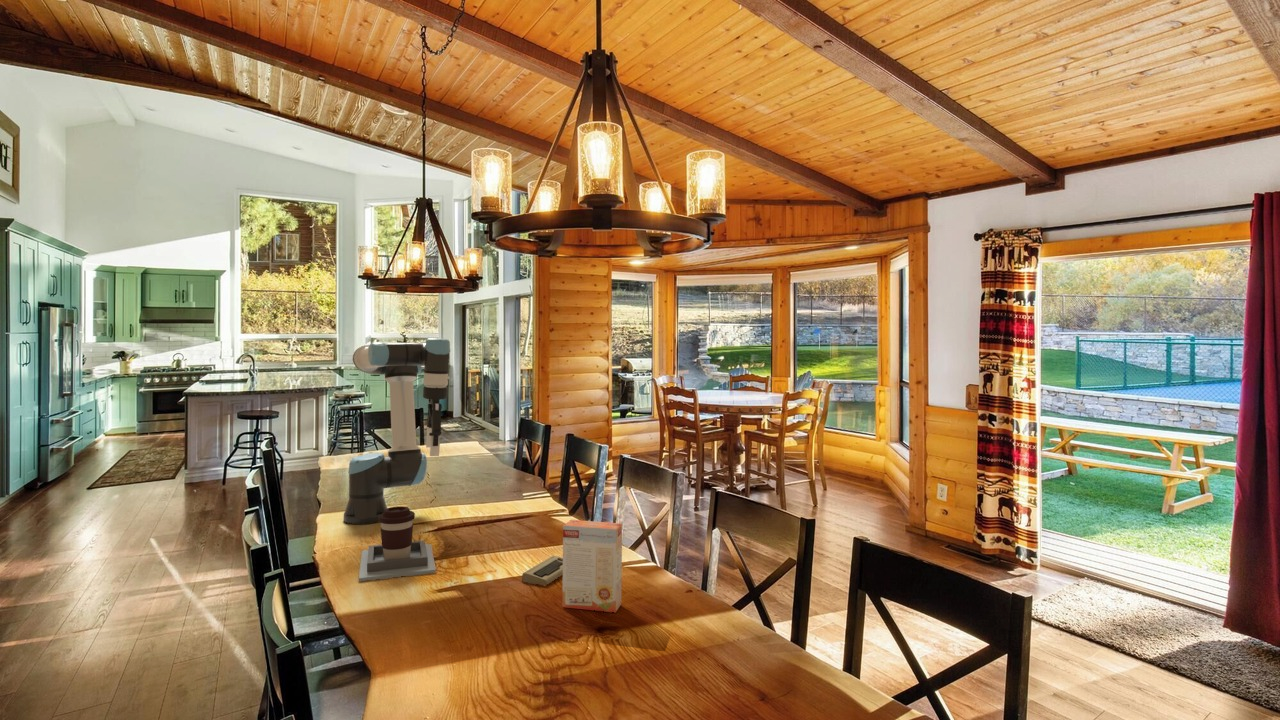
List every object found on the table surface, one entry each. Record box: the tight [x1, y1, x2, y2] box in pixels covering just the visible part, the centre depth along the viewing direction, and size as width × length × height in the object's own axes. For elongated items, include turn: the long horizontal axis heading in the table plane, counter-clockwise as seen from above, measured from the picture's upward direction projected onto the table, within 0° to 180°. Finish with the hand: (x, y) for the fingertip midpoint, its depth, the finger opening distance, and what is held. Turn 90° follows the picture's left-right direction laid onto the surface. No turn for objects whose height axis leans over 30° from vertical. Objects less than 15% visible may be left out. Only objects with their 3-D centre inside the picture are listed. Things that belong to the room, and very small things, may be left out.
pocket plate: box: [358, 539, 437, 582], centre depth 186 cm, size 24×20×4 cm
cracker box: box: [561, 519, 623, 614], centre depth 158 cm, size 14×6×21 cm, turn 77°
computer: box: [521, 555, 563, 586], centre depth 179 cm, size 16×8×3 cm, turn 156°
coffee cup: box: [378, 505, 416, 560], centre depth 186 cm, size 10×10×15 cm
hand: (432, 451), depth 204 cm, fingers open, 13 cm apart
